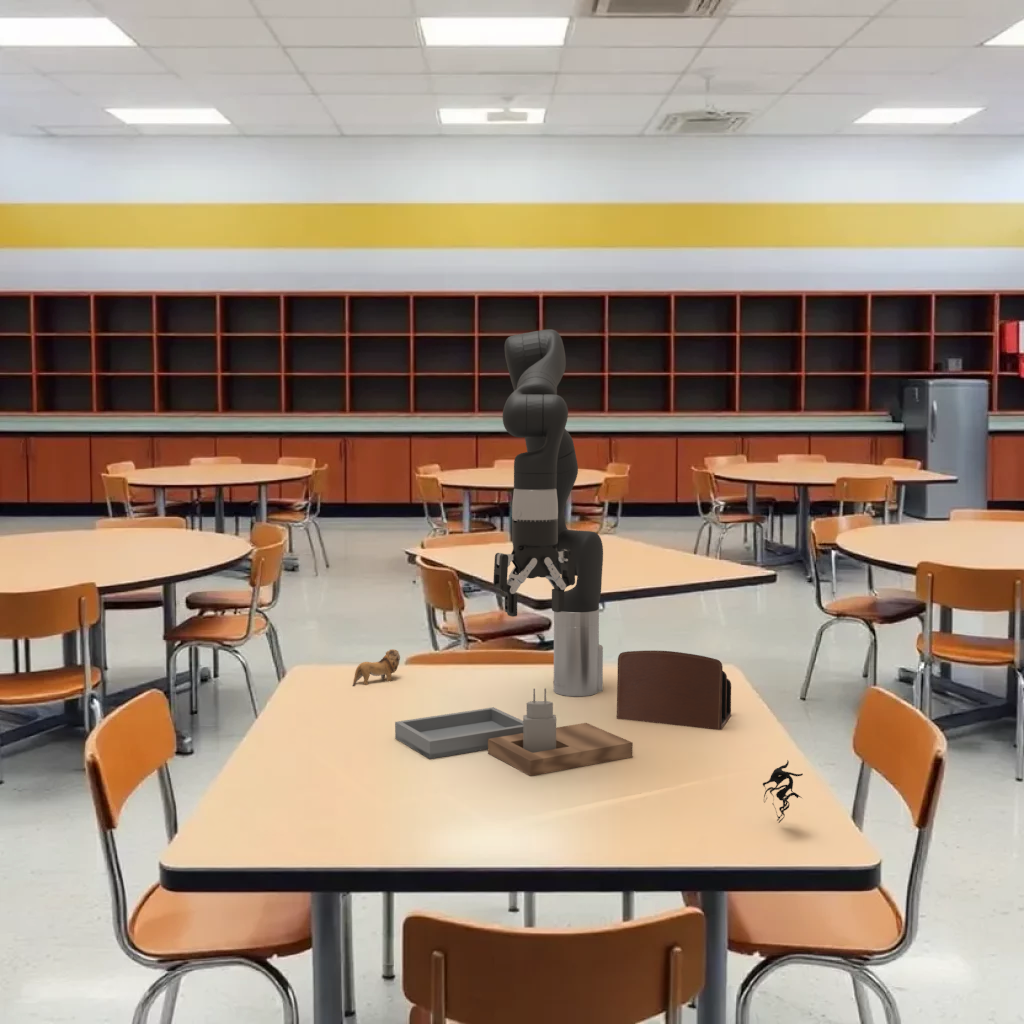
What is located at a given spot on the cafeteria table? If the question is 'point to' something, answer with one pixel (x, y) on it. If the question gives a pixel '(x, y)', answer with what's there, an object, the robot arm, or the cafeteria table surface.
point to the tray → (456, 731)
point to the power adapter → (539, 726)
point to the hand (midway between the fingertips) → (534, 613)
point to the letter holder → (673, 689)
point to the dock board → (562, 750)
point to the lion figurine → (378, 667)
